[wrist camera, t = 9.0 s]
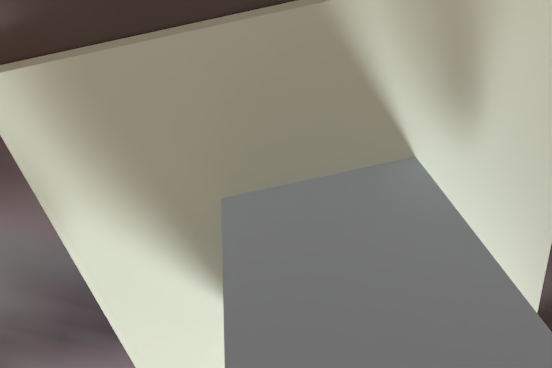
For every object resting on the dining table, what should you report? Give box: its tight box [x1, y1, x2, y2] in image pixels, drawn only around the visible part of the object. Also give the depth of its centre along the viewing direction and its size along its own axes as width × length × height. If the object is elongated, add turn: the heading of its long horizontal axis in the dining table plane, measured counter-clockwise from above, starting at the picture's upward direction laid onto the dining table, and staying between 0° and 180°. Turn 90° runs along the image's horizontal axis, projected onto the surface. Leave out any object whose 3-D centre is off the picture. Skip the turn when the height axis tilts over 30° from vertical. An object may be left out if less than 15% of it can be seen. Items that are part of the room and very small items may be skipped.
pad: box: [0, 0, 552, 368], centre depth 12 cm, size 12×12×1 cm
